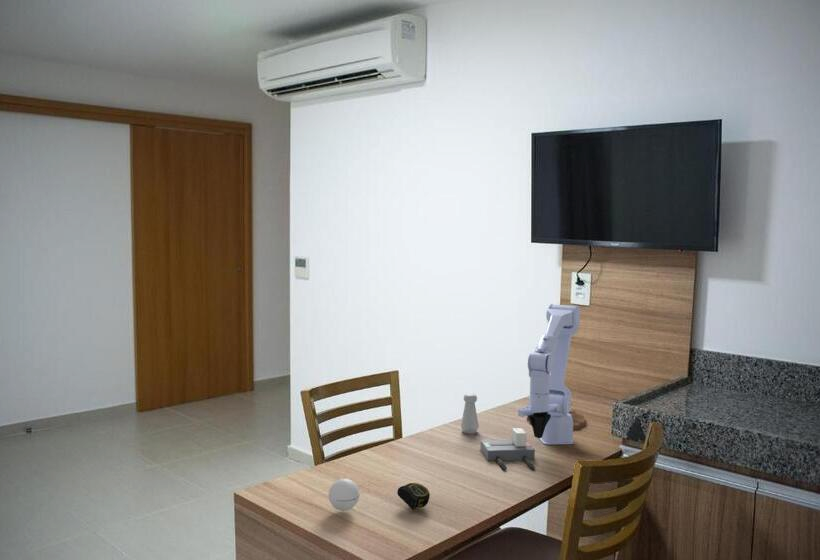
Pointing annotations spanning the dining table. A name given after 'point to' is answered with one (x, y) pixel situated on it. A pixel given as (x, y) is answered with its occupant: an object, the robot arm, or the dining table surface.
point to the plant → (577, 420)
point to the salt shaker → (470, 415)
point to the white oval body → (344, 494)
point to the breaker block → (506, 450)
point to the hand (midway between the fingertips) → (538, 437)
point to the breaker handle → (518, 437)
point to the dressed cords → (523, 459)
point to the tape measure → (414, 495)
